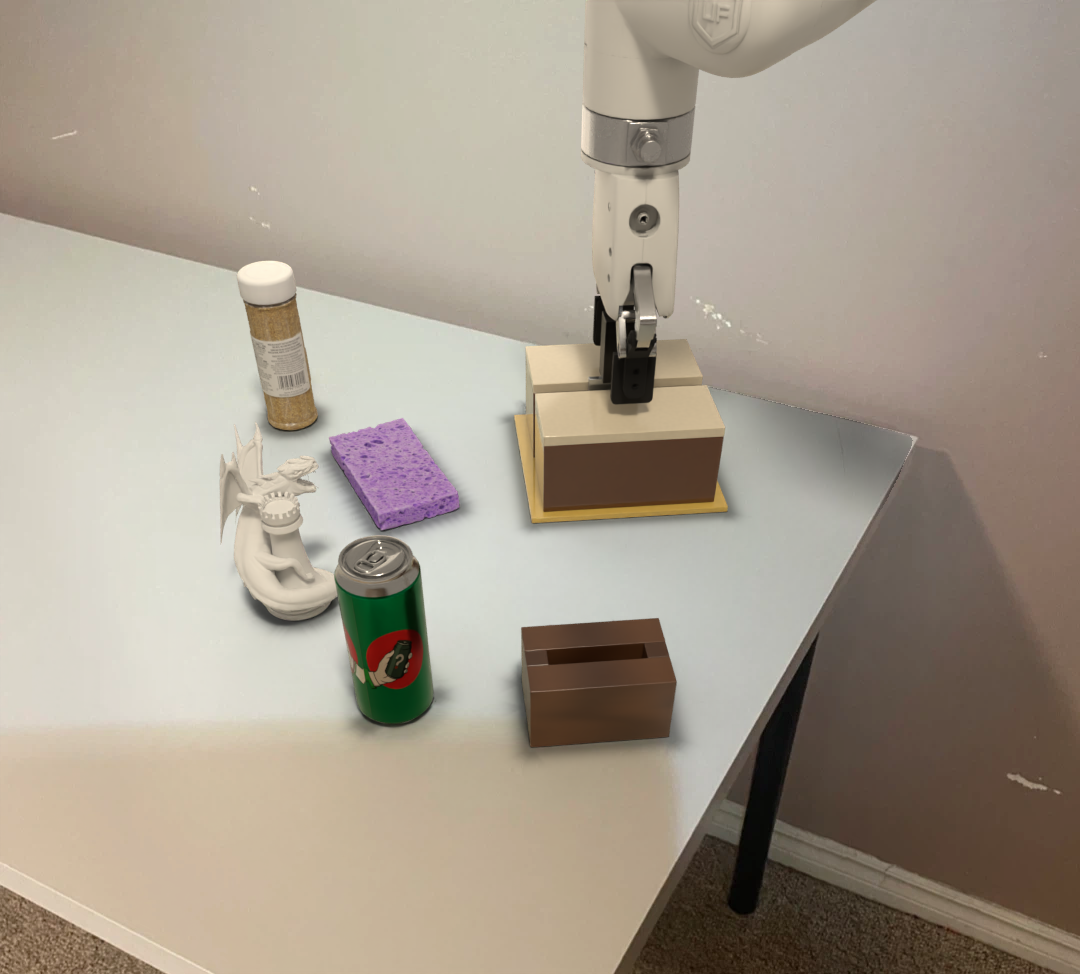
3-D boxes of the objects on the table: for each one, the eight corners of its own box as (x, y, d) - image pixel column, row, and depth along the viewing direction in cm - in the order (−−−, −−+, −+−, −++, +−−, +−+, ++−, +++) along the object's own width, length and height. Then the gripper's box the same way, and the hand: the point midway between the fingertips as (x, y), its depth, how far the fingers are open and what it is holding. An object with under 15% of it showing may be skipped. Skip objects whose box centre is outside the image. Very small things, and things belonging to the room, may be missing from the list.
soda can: (448, 692, 68) (436, 547, 60) (404, 740, 65) (384, 595, 57) (387, 665, 70) (366, 521, 61) (342, 711, 67) (313, 566, 58)
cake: (687, 410, 94) (696, 334, 88) (727, 511, 83) (740, 431, 77) (514, 419, 92) (512, 342, 87) (531, 523, 81) (531, 442, 76)
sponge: (405, 436, 90) (404, 416, 89) (461, 510, 83) (460, 490, 81) (330, 454, 88) (327, 435, 87) (379, 533, 80) (377, 513, 79)
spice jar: (316, 404, 94) (291, 256, 84) (320, 429, 91) (294, 279, 81) (266, 409, 93) (234, 260, 84) (268, 435, 90) (236, 284, 81)
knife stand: (652, 672, 70) (658, 617, 66) (669, 737, 66) (677, 681, 62) (521, 682, 69) (521, 626, 65) (530, 747, 65) (530, 692, 61)
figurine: (355, 617, 73) (331, 473, 65) (249, 644, 71) (209, 499, 63) (320, 534, 80) (294, 394, 72) (222, 556, 78) (182, 415, 70)
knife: (640, 450, 88) (652, 308, 79) (644, 462, 87) (657, 320, 78) (583, 453, 88) (589, 311, 79) (586, 465, 86) (592, 323, 77)
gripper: (720, 177, 63) (689, 426, 76) (666, 94, 75) (648, 320, 88) (600, 182, 63) (589, 431, 75) (566, 96, 75) (561, 324, 87)
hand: (621, 371), depth 81 cm, fingers open, 9 cm apart
